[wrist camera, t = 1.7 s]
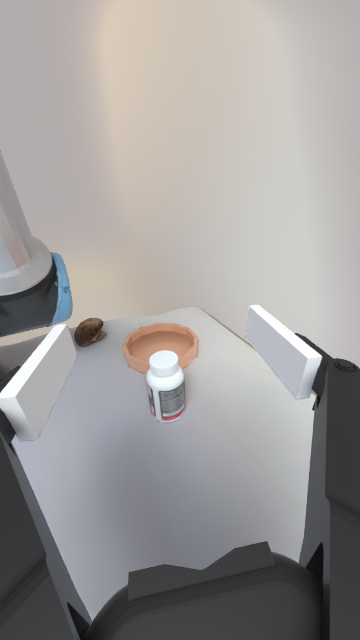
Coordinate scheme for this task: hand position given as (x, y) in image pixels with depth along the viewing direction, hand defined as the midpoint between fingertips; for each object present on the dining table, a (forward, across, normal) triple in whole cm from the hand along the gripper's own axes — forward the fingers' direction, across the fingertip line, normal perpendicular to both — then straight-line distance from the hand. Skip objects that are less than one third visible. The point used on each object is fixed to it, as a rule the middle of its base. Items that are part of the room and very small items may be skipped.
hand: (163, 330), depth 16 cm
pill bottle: (+10, 0, -20) cm, 22 cm away
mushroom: (+33, -17, -20) cm, 42 cm away
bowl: (+26, 0, -20) cm, 33 cm away
